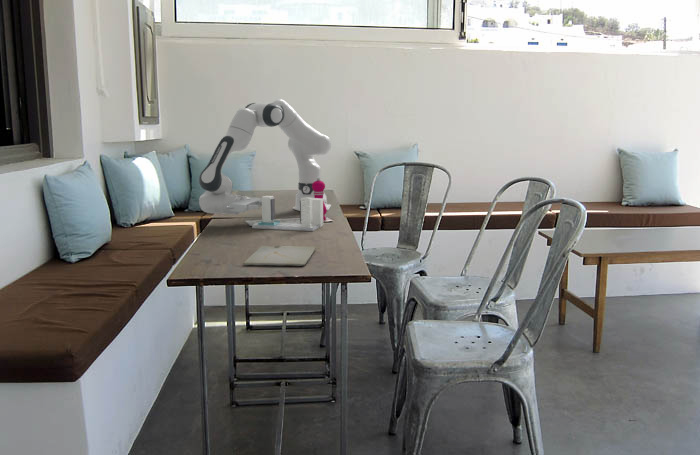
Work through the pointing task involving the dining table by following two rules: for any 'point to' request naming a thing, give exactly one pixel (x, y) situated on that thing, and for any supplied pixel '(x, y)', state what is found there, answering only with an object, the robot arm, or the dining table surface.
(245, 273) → the dining table surface
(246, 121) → the robot arm
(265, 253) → the decorative slab
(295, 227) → the rail
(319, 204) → the block
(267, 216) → the tall white upright block
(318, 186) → the pepper mill
